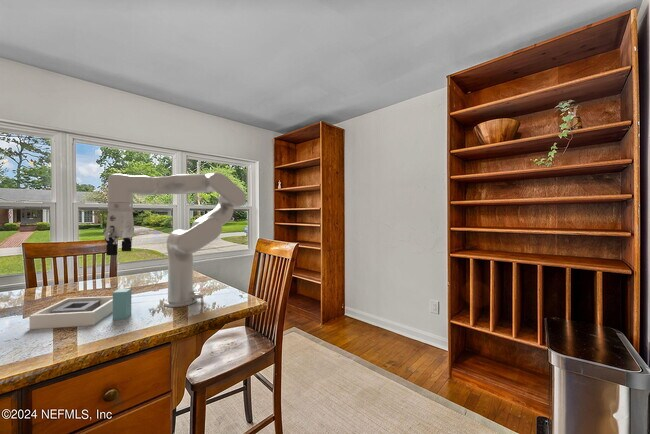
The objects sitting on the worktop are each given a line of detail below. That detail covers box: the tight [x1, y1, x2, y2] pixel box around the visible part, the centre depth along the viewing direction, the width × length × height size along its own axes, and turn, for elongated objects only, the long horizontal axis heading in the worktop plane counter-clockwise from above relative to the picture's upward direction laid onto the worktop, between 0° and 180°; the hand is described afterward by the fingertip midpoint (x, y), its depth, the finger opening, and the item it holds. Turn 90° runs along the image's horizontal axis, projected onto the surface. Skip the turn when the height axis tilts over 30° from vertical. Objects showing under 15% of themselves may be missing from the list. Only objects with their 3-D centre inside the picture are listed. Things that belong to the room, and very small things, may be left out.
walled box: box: [28, 295, 113, 330], centre depth 100 cm, size 18×18×4 cm
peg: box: [112, 288, 132, 321], centre depth 100 cm, size 4×4×10 cm
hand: (119, 253), depth 102 cm, fingers open, 9 cm apart
